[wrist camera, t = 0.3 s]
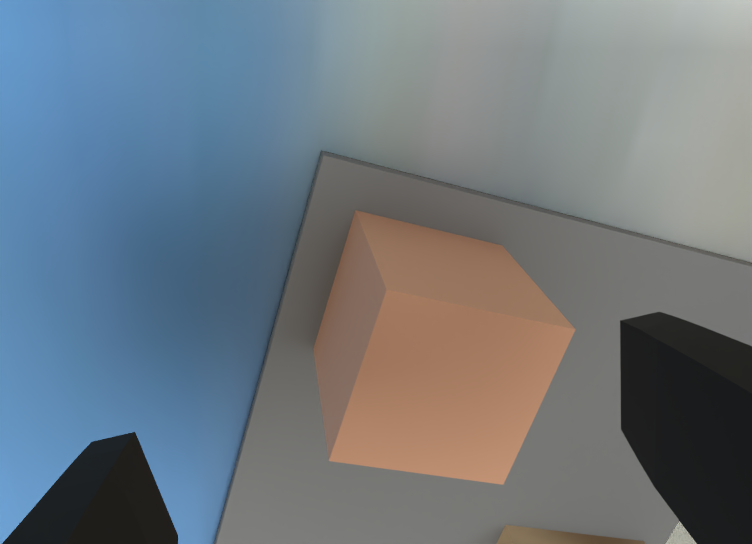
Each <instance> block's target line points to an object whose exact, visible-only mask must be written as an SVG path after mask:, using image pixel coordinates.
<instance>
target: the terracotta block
mask: <svg viewBox="0 0 752 544" xmlns="http://www.w3.org/2000/svg"><path fill="white" fill-rule="evenodd" d="M575 330H576V329H575V328H574V327H573V326H572V325H571V324H570V322H569V321H568V320H567V319H566V318H565V317H564V316H563V314H562V313H561V312H560V311H559V310H558V309H557V308H556V306H555V305H554V304H553V303H552V302H551V301H550V300H549V298H548V297H547V296H546V295H545V294H544V293H543V292H542V290H541V289H540V288H539V287H538V286H537V285H536V284H535V282H534V281H533V280H532V279H531V278H530V277H529V276H528V274H527V273H526V272H525V271H524V270H523V269H522V268H521V266H520V265H519V264H518V263H517V262H516V261H515V260H514V258H513V257H512V256H511V255H510V254H509V253H508V252H507V250H506V249H505V248H504V247H503V246H502V245H498V244H494V243H490V242H486V241H481V240H477V239H473V238H469V237H465V236H461V235H456V234H452V233H448V232H444V231H440V230H436V229H432V228H427V227H423V226H419V225H415V224H411V223H407V222H402V221H398V220H394V219H390V218H386V217H382V216H378V215H373V214H369V213H365V212H361V211H357V210H355V213H354V217H353V220H352V223H351V227H350V230H349V233H348V236H347V240H346V243H345V246H344V250H343V253H342V256H341V259H340V263H339V266H338V269H337V273H336V276H335V279H334V283H333V286H332V289H331V292H330V296H329V299H328V302H327V306H326V309H325V312H324V315H323V319H322V322H321V325H320V329H319V332H318V335H317V339H316V342H315V345H314V348H313V350H314V358H315V365H316V372H317V379H318V386H319V394H320V401H321V408H322V415H323V422H324V430H325V437H326V444H327V451H328V458H329V461H332V462H339V463H347V464H354V465H361V466H369V467H376V468H383V469H391V470H398V471H405V472H413V473H420V474H428V475H435V476H442V477H450V478H457V479H464V480H472V481H479V482H486V483H494V484H501V485H503V484H504V482H505V480H506V478H507V476H508V474H509V472H510V469H511V467H512V465H513V463H514V461H515V459H516V457H517V454H518V452H519V450H520V448H521V446H522V444H523V441H524V439H525V437H526V435H527V433H528V431H529V429H530V426H531V424H532V422H533V420H534V418H535V416H536V414H537V411H538V409H539V407H540V405H541V403H542V401H543V398H544V396H545V394H546V392H547V390H548V388H549V386H550V383H551V381H552V379H553V377H554V375H555V373H556V371H557V368H558V366H559V364H560V362H561V360H562V358H563V355H564V353H565V351H566V349H567V347H568V345H569V343H570V340H571V338H572V336H573V334H574V332H575Z"/></svg>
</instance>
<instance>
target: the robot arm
mask: <svg viewBox="0 0 752 544" xmlns="http://www.w3.org/2000/svg"><path fill="white" fill-rule="evenodd" d="M620 370H621V430H622V432H623V434H624V436H625V437H626V439H627V441H628V443H629V445H630V446H631V448H632V450H633V452H634V454H635V455H636V457H637V459H638V461H639V462H640V464H641V466H642V467H643V469H644V471H645V472H646V474H647V476H648V477H649V479H650V481H651V482H652V484H653V486H654V487H655V489H656V490H657V491H658V493H659V494H660V495H661V497H662V498H663V499H664V501H665V502H666V503H667V505H668V506H669V507H670V509H671V510H672V511H673V513H674V514H675V515H676V517H677V518H678V519H679V521H680V522H681V523H682V525H683V526H684V527H685V529H686V530H687V531H688V532H689V534H690V535H691V536H692V538H693V539H694V540H695V542H696V543H697V544H752V346H750V345H748V344H745V343H743V342H740V341H738V340H735V339H732V338H730V337H727V336H725V335H722V334H720V333H717V332H715V331H712V330H710V329H707V328H705V327H702V326H699V325H697V324H694V323H692V322H689V321H686V320H683V319H681V318H678V317H675V316H672V315H669V314H666V313H662V312H655V313H651V314H647V315H642V316H638V317H633V318H629V319H625V320H620ZM2 544H178V535H177V532H176V530H175V528H174V525H173V523H172V520H171V518H170V515H169V513H168V511H167V508H166V506H165V503H164V501H163V499H162V496H161V494H160V491H159V489H158V486H157V484H156V482H155V479H154V477H153V474H152V472H151V470H150V467H149V465H148V462H147V460H146V458H145V455H144V453H143V450H142V448H141V445H140V443H139V441H138V438H137V436H136V433H135V432H133V433H128V434H124V435H120V436H115V437H111V438H107V439H102V440H98V441H94V442H91V443H90V444H89V445H88V446H87V448H86V449H85V450H84V451H83V452H82V453H81V454H80V455H79V456H78V457H77V458H76V459H75V460H74V462H73V463H72V464H71V465H70V466H69V467H68V468H67V470H66V471H65V472H64V473H63V474H62V475H61V476H60V478H59V479H58V480H57V481H56V482H55V483H54V485H53V486H52V487H51V488H50V489H49V490H48V492H47V493H46V494H45V495H44V496H43V497H42V499H41V500H40V501H39V502H38V503H37V504H36V506H35V507H34V508H33V509H32V510H31V511H30V512H29V514H28V515H27V516H26V517H25V518H24V519H23V520H22V522H21V523H20V524H19V525H18V526H17V527H16V529H15V530H14V531H13V532H12V533H11V534H10V535H9V537H8V538H7V539H6V540H5V541H4V542H3V543H2Z"/></svg>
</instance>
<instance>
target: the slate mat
mask: <svg viewBox="0 0 752 544" xmlns="http://www.w3.org/2000/svg"><path fill="white" fill-rule="evenodd" d="M355 210H357V211H361V212H365V213H369V214H373V215H378V216H382V217H386V218H390V219H394V220H398V221H402V222H407V223H411V224H415V225H419V226H423V227H427V228H432V229H436V230H440V231H444V232H448V233H452V234H456V235H461V236H465V237H469V238H473V239H477V240H481V241H486V242H490V243H494V244H498V245H502V246H503V247H504V248H505V249H506V250H507V252H508V253H509V254H510V255H511V256H512V257H513V258H514V260H515V261H516V262H517V263H518V264H519V265H520V266H521V268H522V269H523V270H524V271H525V272H526V273H527V274H528V276H529V277H530V278H531V279H532V280H533V281H534V282H535V284H536V285H537V286H538V287H539V288H540V289H541V290H542V292H543V293H544V294H545V295H546V296H547V297H548V298H549V300H550V301H551V302H552V303H553V304H554V305H555V306H556V308H557V309H558V310H559V311H560V312H561V313H562V314H563V316H564V317H565V318H566V319H567V320H568V321H569V322H570V324H571V325H572V326H573V327H574V328H575V329H576V330H575V332H574V334H573V336H572V338H571V340H570V343H569V345H568V347H567V349H566V351H565V353H564V355H563V358H562V360H561V362H560V364H559V366H558V368H557V371H556V373H555V375H554V377H553V379H552V381H551V383H550V386H549V388H548V390H547V392H546V394H545V396H544V398H543V401H542V403H541V405H540V407H539V409H538V411H537V414H536V416H535V418H534V420H533V422H532V424H531V426H530V429H529V431H528V433H527V435H526V437H525V439H524V441H523V444H522V446H521V448H520V450H519V452H518V454H517V457H516V459H515V461H514V463H513V465H512V467H511V469H510V472H509V474H508V476H507V478H506V480H505V482H504V484H503V485H501V484H494V483H486V482H479V481H472V480H464V479H457V478H450V477H442V476H435V475H428V474H420V473H413V472H405V471H398V470H391V469H383V468H376V467H369V466H361V465H354V464H347V463H339V462H332V461H329V458H328V451H327V444H326V437H325V430H324V422H323V415H322V408H321V401H320V394H319V386H318V379H317V372H316V365H315V358H314V350H313V348H314V345H315V342H316V339H317V335H318V332H319V329H320V325H321V322H322V319H323V315H324V312H325V309H326V306H327V302H328V299H329V296H330V292H331V289H332V286H333V283H334V279H335V276H336V273H337V269H338V266H339V263H340V259H341V256H342V253H343V250H344V246H345V243H346V240H347V236H348V233H349V230H350V227H351V223H352V220H353V217H354V213H355ZM655 312H662V313H666V314H669V315H672V316H675V317H678V318H681V319H683V320H686V321H689V322H692V323H694V324H697V325H699V326H702V327H705V328H707V329H710V330H712V331H715V332H717V333H720V334H722V335H725V336H727V337H730V338H732V339H735V340H738V341H740V342H743V343H745V344H748V345H750V346H752V263H749V262H745V261H741V260H738V259H734V258H730V257H726V256H722V255H719V254H715V253H711V252H707V251H703V250H699V249H696V248H692V247H688V246H684V245H680V244H676V243H673V242H669V241H665V240H661V239H657V238H654V237H650V236H646V235H642V234H638V233H634V232H631V231H627V230H623V229H619V228H615V227H612V226H608V225H604V224H600V223H596V222H592V221H589V220H585V219H581V218H577V217H573V216H569V215H566V214H562V213H558V212H554V211H550V210H547V209H543V208H539V207H535V206H531V205H527V204H524V203H520V202H516V201H512V200H508V199H505V198H501V197H497V196H493V195H489V194H485V193H482V192H478V191H474V190H470V189H466V188H463V187H459V186H455V185H451V184H447V183H443V182H440V181H436V180H432V179H428V178H424V177H420V176H417V175H413V174H409V173H405V172H401V171H398V170H394V169H390V168H386V167H382V166H378V165H375V164H371V163H367V162H363V161H359V160H356V159H352V158H348V157H344V156H340V155H336V154H333V153H329V152H325V151H322V152H321V156H320V159H319V163H318V167H317V170H316V174H315V178H314V181H313V185H312V188H311V192H310V196H309V199H308V203H307V207H306V210H305V214H304V218H303V221H302V225H301V229H300V232H299V236H298V240H297V243H296V247H295V250H294V254H293V258H292V261H291V265H290V269H289V272H288V276H287V280H286V283H285V287H284V291H283V294H282V298H281V302H280V305H279V309H278V312H277V316H276V320H275V323H274V327H273V331H272V334H271V338H270V342H269V345H268V349H267V353H266V356H265V360H264V363H263V367H262V371H261V374H260V378H259V382H258V385H257V389H256V393H255V396H254V400H253V404H252V407H251V411H250V415H249V418H248V422H247V425H246V429H245V433H244V436H243V440H242V444H241V447H240V451H239V455H238V458H237V462H236V466H235V469H234V473H233V477H232V480H231V484H230V487H229V491H228V495H227V498H226V502H225V506H224V509H223V513H222V517H221V520H220V524H219V528H218V531H217V535H216V539H215V542H214V544H497V542H498V540H499V537H500V535H501V533H502V531H503V529H504V527H505V525H512V526H520V527H529V528H537V529H546V530H554V531H562V532H571V533H579V534H588V535H596V536H605V537H613V538H622V539H630V540H638V541H644V542H645V544H665V543H666V542H667V540H668V538H669V537H670V535H671V533H672V532H673V530H674V528H675V527H676V525H677V523H678V522H679V519H678V518H677V517H676V515H675V514H674V513H673V511H672V510H671V509H670V507H669V506H668V505H667V503H666V502H665V501H664V499H663V498H662V497H661V495H660V494H659V493H658V491H657V490H656V489H655V487H654V486H653V484H652V482H651V481H650V479H649V477H648V476H647V474H646V472H645V471H644V469H643V467H642V466H641V464H640V462H639V461H638V459H637V457H636V455H635V454H634V452H633V450H632V448H631V446H630V445H629V443H628V441H627V439H626V437H625V436H624V434H623V432H622V430H621V370H620V320H625V319H629V318H633V317H638V316H642V315H647V314H651V313H655Z"/></svg>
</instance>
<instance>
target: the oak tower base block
mask: <svg viewBox="0 0 752 544" xmlns="http://www.w3.org/2000/svg"><path fill="white" fill-rule="evenodd" d="M497 544H645V542H644V541H638V540H630V539H622V538H613V537H605V536H596V535H588V534H579V533H571V532H562V531H554V530H546V529H537V528H529V527H520V526H512V525H505V527H504V529H503V531H502V533H501V535H500V537H499V540H498V542H497Z"/></svg>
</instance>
